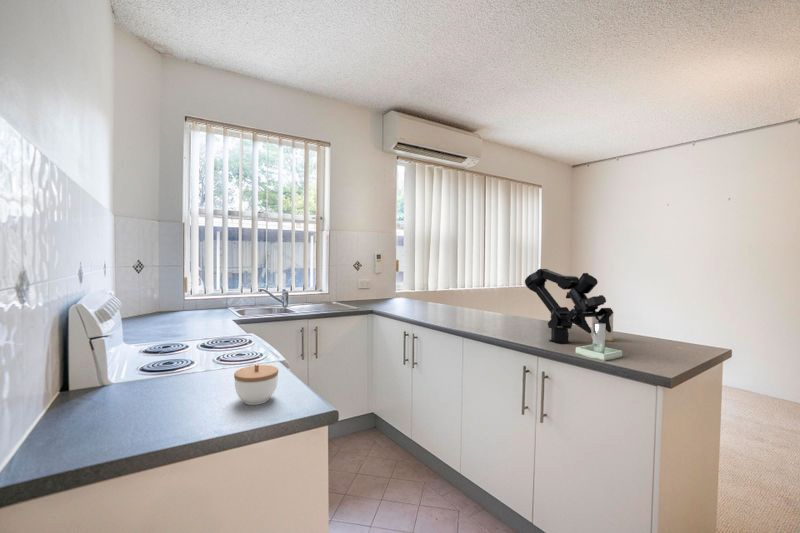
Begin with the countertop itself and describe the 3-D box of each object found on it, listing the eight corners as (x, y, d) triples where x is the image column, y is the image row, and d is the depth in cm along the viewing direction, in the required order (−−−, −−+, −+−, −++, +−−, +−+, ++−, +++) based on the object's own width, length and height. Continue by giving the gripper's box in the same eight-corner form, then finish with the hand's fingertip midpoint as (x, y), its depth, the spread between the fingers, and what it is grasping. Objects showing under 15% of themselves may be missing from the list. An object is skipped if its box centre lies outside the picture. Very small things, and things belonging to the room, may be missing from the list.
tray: (575, 353, 146) (575, 347, 146) (593, 350, 151) (593, 344, 151) (603, 361, 136) (604, 354, 135) (622, 357, 141) (622, 350, 141)
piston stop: (589, 352, 146) (590, 322, 145) (600, 352, 146) (601, 322, 145) (596, 355, 141) (597, 324, 141) (607, 355, 141) (608, 324, 141)
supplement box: (610, 339, 172) (611, 311, 171) (612, 341, 167) (613, 313, 167) (590, 337, 174) (591, 310, 174) (592, 340, 170) (593, 312, 169)
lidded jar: (246, 412, 88) (246, 374, 88) (226, 400, 95) (226, 364, 95) (286, 400, 96) (286, 364, 96) (265, 389, 103) (265, 356, 103)
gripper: (571, 288, 145) (592, 321, 134) (610, 288, 149) (633, 319, 139) (557, 305, 152) (576, 337, 142) (595, 304, 157) (615, 335, 147)
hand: (600, 332), depth 142 cm, fingers open, 9 cm apart
